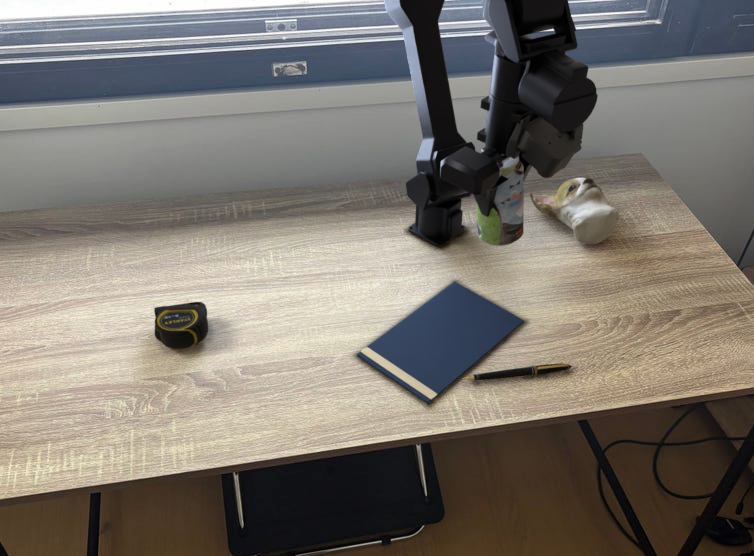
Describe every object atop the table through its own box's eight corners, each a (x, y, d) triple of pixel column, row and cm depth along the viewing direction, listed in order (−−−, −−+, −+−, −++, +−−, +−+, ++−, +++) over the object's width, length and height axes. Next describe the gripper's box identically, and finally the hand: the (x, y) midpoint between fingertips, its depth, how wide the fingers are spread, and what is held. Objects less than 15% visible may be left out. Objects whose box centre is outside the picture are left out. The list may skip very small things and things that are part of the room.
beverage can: (520, 255, 96) (535, 174, 87) (464, 247, 97) (474, 167, 88) (523, 227, 100) (538, 149, 92) (470, 221, 101) (479, 142, 93)
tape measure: (209, 316, 99) (204, 295, 97) (210, 351, 95) (206, 330, 92) (158, 322, 99) (152, 301, 96) (157, 358, 94) (150, 337, 91)
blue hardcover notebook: (356, 356, 94) (356, 353, 94) (454, 283, 104) (454, 280, 104) (427, 404, 88) (428, 402, 88) (523, 322, 98) (524, 320, 98)
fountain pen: (461, 386, 90) (462, 377, 89) (459, 379, 91) (460, 370, 90) (573, 372, 92) (575, 364, 91) (569, 366, 92) (572, 358, 91)
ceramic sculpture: (581, 208, 101) (530, 160, 112) (570, 259, 107) (523, 210, 118) (647, 195, 104) (591, 150, 114) (633, 246, 110) (581, 198, 120)
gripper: (523, 147, 75) (504, 266, 86) (619, 88, 84) (590, 202, 95) (441, 111, 81) (433, 227, 92) (539, 59, 90) (521, 170, 101)
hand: (498, 206), depth 95 cm, fingers closed on beverage can, 5 cm apart
